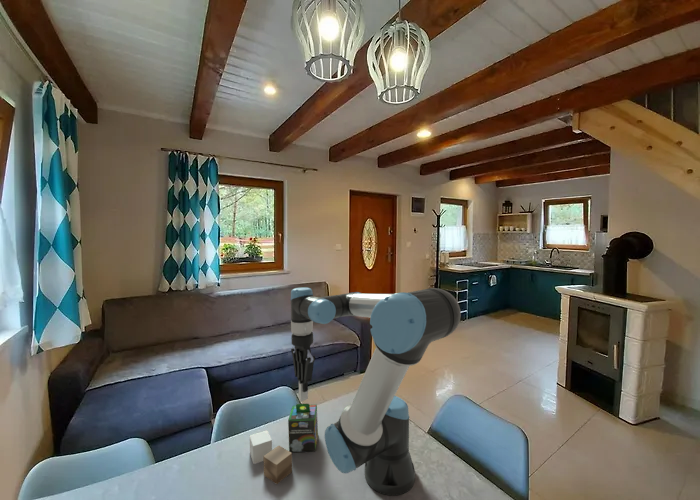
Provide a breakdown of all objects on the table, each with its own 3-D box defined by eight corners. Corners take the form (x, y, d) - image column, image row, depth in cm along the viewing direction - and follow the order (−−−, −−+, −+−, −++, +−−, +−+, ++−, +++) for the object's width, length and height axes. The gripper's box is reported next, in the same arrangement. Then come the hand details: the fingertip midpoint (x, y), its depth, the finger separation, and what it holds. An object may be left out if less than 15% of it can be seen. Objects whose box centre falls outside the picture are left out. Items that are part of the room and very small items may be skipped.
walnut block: (292, 472, 92) (291, 453, 92) (276, 484, 87) (276, 464, 87) (279, 463, 96) (278, 445, 96) (263, 475, 91) (263, 456, 91)
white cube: (272, 457, 98) (271, 440, 98) (253, 464, 95) (253, 446, 95) (267, 446, 104) (267, 429, 103) (249, 452, 101) (249, 435, 101)
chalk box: (318, 434, 110) (317, 395, 109) (315, 452, 101) (315, 409, 100) (292, 435, 110) (292, 395, 109) (288, 452, 100) (287, 409, 100)
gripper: (321, 334, 101) (322, 403, 102) (302, 326, 111) (303, 389, 112) (302, 339, 97) (303, 411, 97) (283, 330, 107) (285, 395, 107)
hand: (303, 399), depth 105 cm, fingers closed
